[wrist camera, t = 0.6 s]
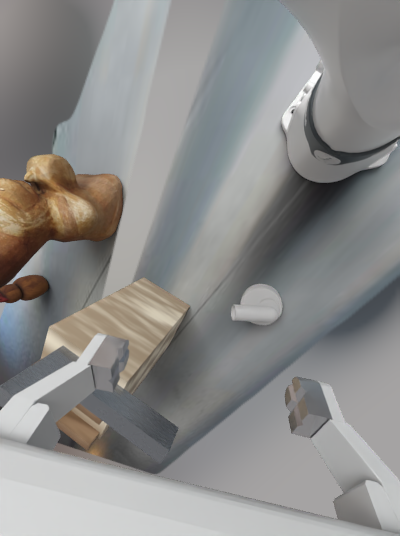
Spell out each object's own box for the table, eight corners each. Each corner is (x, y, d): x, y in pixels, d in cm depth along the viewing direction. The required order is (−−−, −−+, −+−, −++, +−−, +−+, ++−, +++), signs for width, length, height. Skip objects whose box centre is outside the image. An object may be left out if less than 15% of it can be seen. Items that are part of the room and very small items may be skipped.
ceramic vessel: (128, 168, 50) (-48, 110, 22) (134, 260, 55) (-1, 308, 27) (73, 170, 54) (-132, 125, 26) (83, 256, 60) (-77, 294, 32)
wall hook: (232, 293, 40) (290, 306, 37) (238, 279, 49) (285, 288, 46) (225, 334, 42) (279, 348, 40) (232, 313, 51) (277, 323, 48)
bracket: (62, 345, 31) (0, 386, 24) (178, 427, 29) (148, 502, 21) (58, 359, 33) (-3, 402, 25) (169, 440, 30) (137, 516, 22)
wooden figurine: (32, 277, 67) (-29, 294, 53) (42, 269, 65) (-18, 284, 51) (44, 296, 68) (-13, 317, 54) (55, 288, 66) (-2, 308, 52)
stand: (143, 277, 56) (35, 333, 30) (189, 305, 54) (118, 393, 28) (126, 318, 60) (20, 398, 34) (168, 346, 58) (89, 452, 32)
